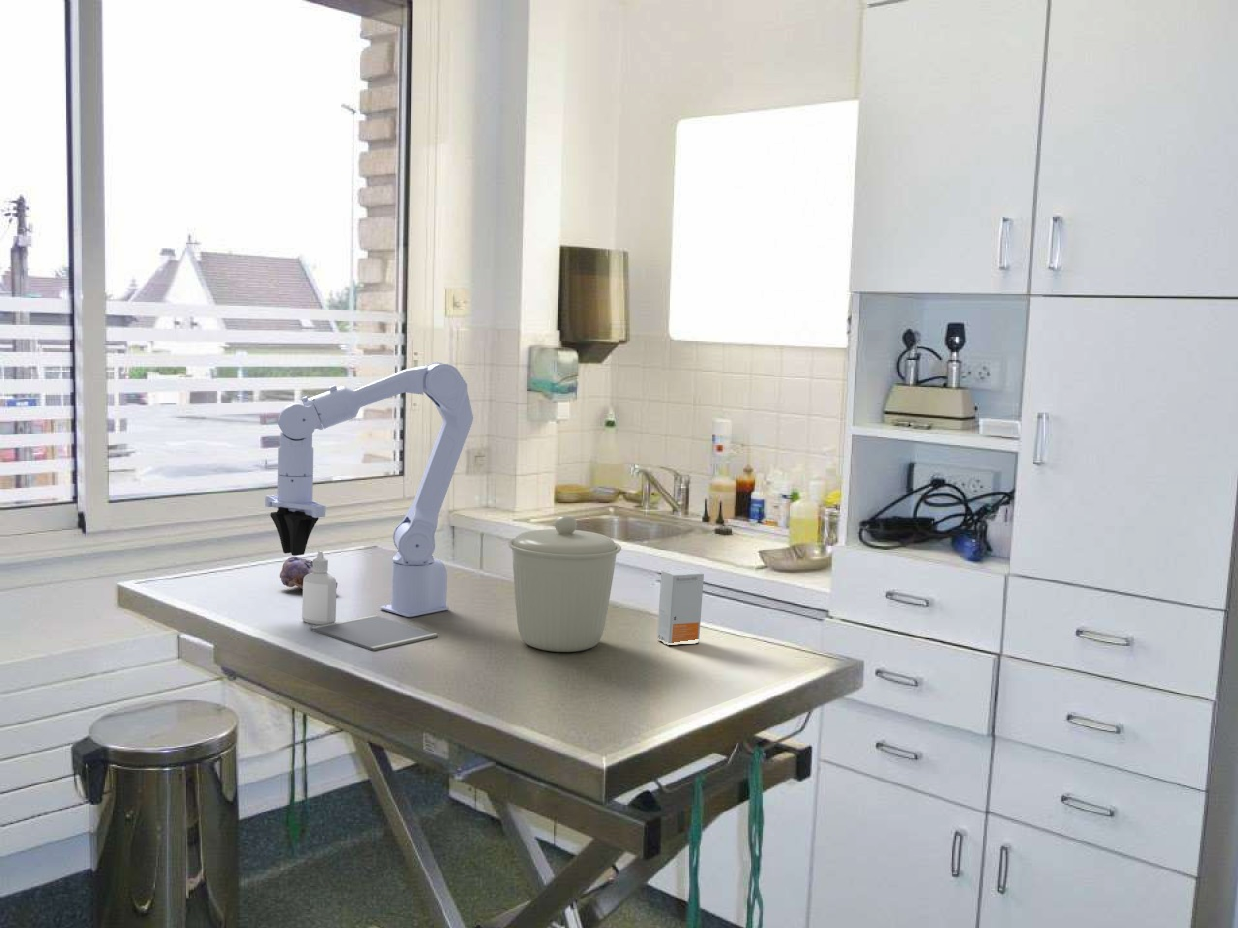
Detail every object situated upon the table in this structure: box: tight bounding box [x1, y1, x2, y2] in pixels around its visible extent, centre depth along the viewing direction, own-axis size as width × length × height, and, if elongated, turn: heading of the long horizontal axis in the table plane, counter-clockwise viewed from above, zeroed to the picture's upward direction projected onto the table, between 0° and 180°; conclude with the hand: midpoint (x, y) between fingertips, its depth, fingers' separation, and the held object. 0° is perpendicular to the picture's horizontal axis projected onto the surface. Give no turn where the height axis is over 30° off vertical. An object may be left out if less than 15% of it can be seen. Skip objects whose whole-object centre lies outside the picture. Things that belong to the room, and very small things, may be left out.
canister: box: [507, 515, 622, 653], centre depth 178 cm, size 18×18×21 cm
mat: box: [310, 614, 438, 652], centre depth 180 cm, size 13×16×1 cm
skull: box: [279, 556, 338, 590], centre depth 207 cm, size 12×8×6 cm, turn 54°
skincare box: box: [656, 568, 705, 643], centre depth 184 cm, size 6×4×12 cm
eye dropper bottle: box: [301, 550, 337, 626], centre depth 185 cm, size 4×6×12 cm
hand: (293, 553), depth 189 cm, fingers closed
